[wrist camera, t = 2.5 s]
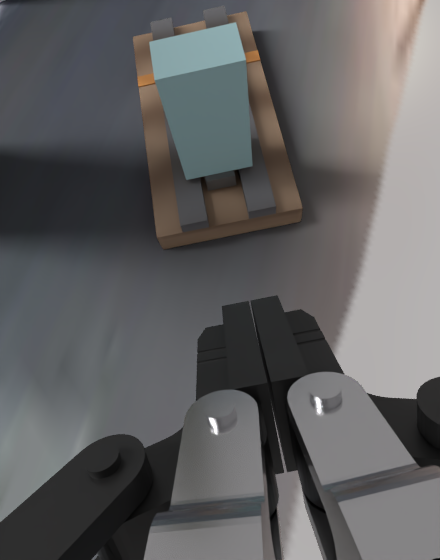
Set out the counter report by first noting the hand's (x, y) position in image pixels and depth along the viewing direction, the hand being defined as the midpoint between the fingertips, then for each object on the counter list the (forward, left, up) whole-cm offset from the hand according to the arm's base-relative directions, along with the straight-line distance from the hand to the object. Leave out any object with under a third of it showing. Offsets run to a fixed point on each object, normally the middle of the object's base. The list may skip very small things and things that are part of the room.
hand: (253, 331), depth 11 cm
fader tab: (-13, +11, -15) cm, 23 cm away
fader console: (-18, +15, -17) cm, 29 cm away
